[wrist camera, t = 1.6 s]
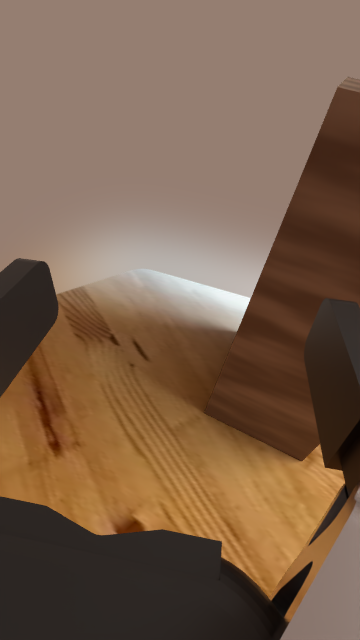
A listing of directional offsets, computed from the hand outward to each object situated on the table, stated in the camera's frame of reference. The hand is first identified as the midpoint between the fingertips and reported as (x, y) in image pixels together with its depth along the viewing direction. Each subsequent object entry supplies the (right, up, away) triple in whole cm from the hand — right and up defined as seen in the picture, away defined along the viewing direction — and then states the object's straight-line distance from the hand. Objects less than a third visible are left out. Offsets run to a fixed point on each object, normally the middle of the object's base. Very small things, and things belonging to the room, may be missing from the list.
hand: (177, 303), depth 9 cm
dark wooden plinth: (+12, -9, +33) cm, 36 cm away
